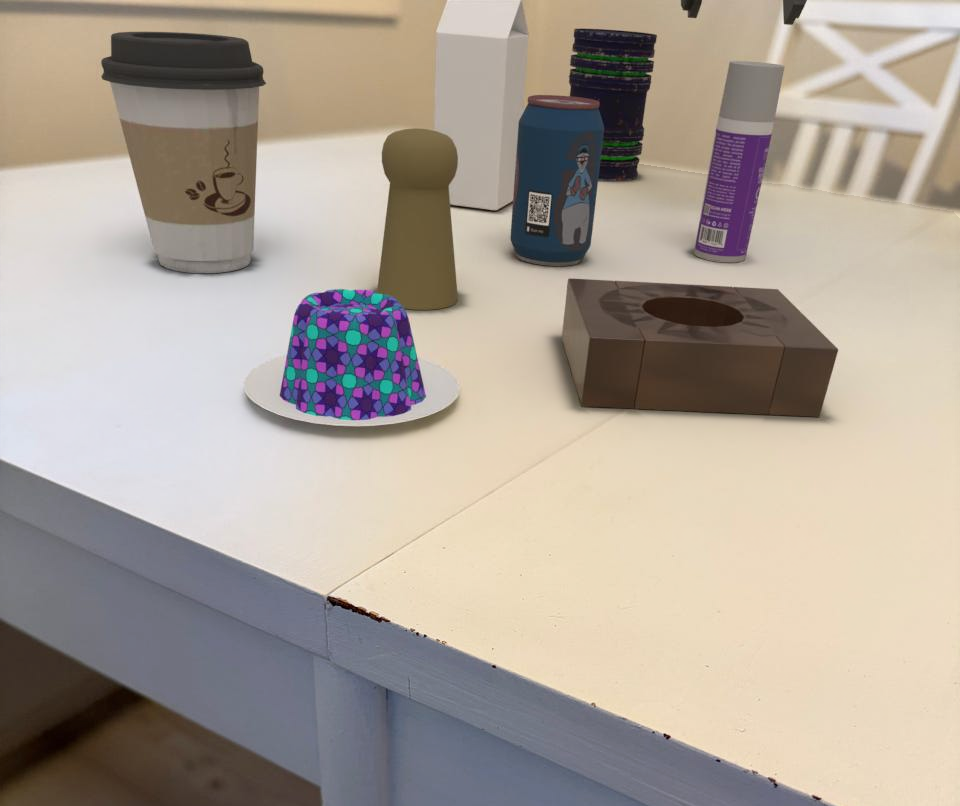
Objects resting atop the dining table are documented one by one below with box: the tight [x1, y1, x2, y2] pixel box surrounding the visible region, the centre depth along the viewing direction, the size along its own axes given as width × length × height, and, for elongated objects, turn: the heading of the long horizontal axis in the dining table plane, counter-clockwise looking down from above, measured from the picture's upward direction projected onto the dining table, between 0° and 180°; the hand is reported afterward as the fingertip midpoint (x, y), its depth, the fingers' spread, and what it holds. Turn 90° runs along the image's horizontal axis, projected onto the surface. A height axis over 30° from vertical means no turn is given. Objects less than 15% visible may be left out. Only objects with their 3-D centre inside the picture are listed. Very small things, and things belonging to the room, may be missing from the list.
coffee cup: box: [100, 31, 267, 274], centre depth 70 cm, size 11×11×15 cm
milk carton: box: [433, 0, 530, 211], centre depth 93 cm, size 7×7×19 cm
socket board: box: [561, 278, 839, 418], centre depth 58 cm, size 14×12×4 cm
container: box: [693, 60, 785, 264], centre depth 81 cm, size 5×5×15 cm
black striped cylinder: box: [568, 28, 658, 182], centre depth 113 cm, size 10×10×15 cm
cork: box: [376, 127, 459, 311], centre depth 66 cm, size 6×6×11 cm
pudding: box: [243, 288, 461, 427], centre depth 52 cm, size 12×12×5 cm
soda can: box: [509, 94, 604, 267], centre depth 78 cm, size 7×7×12 cm
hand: (744, 13), depth 81 cm, fingers open, 8 cm apart
